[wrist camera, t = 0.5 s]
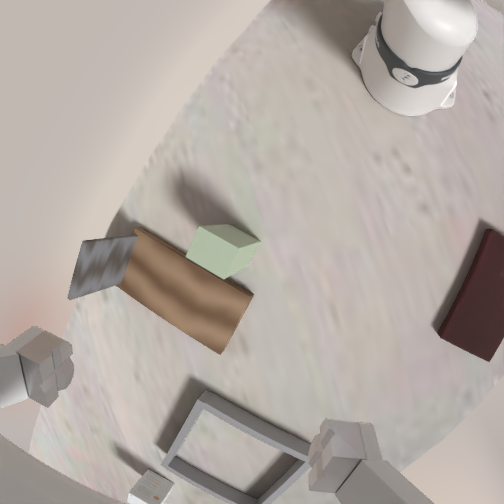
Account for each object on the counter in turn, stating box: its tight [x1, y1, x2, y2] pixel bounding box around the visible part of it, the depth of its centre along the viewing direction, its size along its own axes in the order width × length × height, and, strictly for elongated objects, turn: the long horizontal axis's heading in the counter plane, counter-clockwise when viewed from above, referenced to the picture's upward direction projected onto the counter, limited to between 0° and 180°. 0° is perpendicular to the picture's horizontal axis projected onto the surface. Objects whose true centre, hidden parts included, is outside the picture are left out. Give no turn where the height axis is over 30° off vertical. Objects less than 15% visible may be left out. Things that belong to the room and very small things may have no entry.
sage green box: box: [186, 224, 261, 279], centre depth 47 cm, size 4×6×12 cm
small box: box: [127, 469, 174, 504], centre depth 60 cm, size 8×6×10 cm
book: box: [438, 229, 504, 362], centre depth 42 cm, size 12×19×3 cm, turn 156°
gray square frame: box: [161, 390, 311, 504], centre depth 56 cm, size 25×25×4 cm
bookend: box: [68, 228, 254, 355], centre depth 48 cm, size 12×24×16 cm, turn 63°
